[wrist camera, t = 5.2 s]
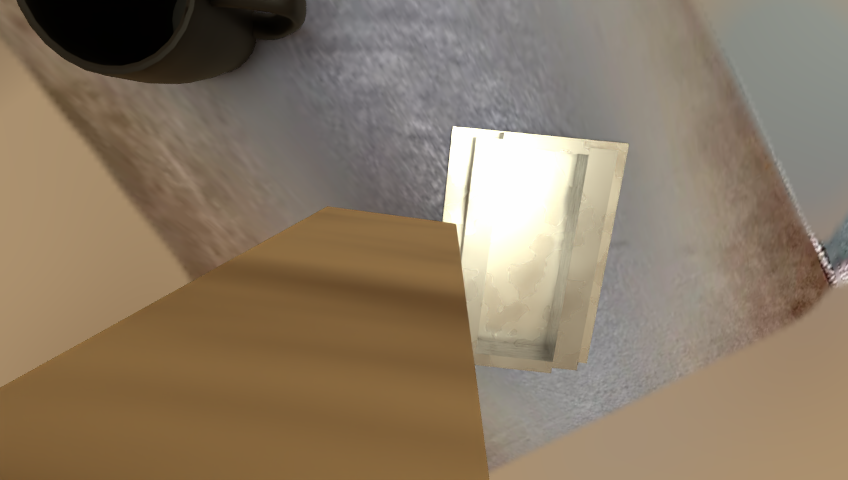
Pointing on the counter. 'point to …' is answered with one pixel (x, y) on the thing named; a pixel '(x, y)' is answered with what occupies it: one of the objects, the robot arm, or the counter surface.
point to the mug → (160, 34)
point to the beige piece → (532, 241)
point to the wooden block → (272, 369)
